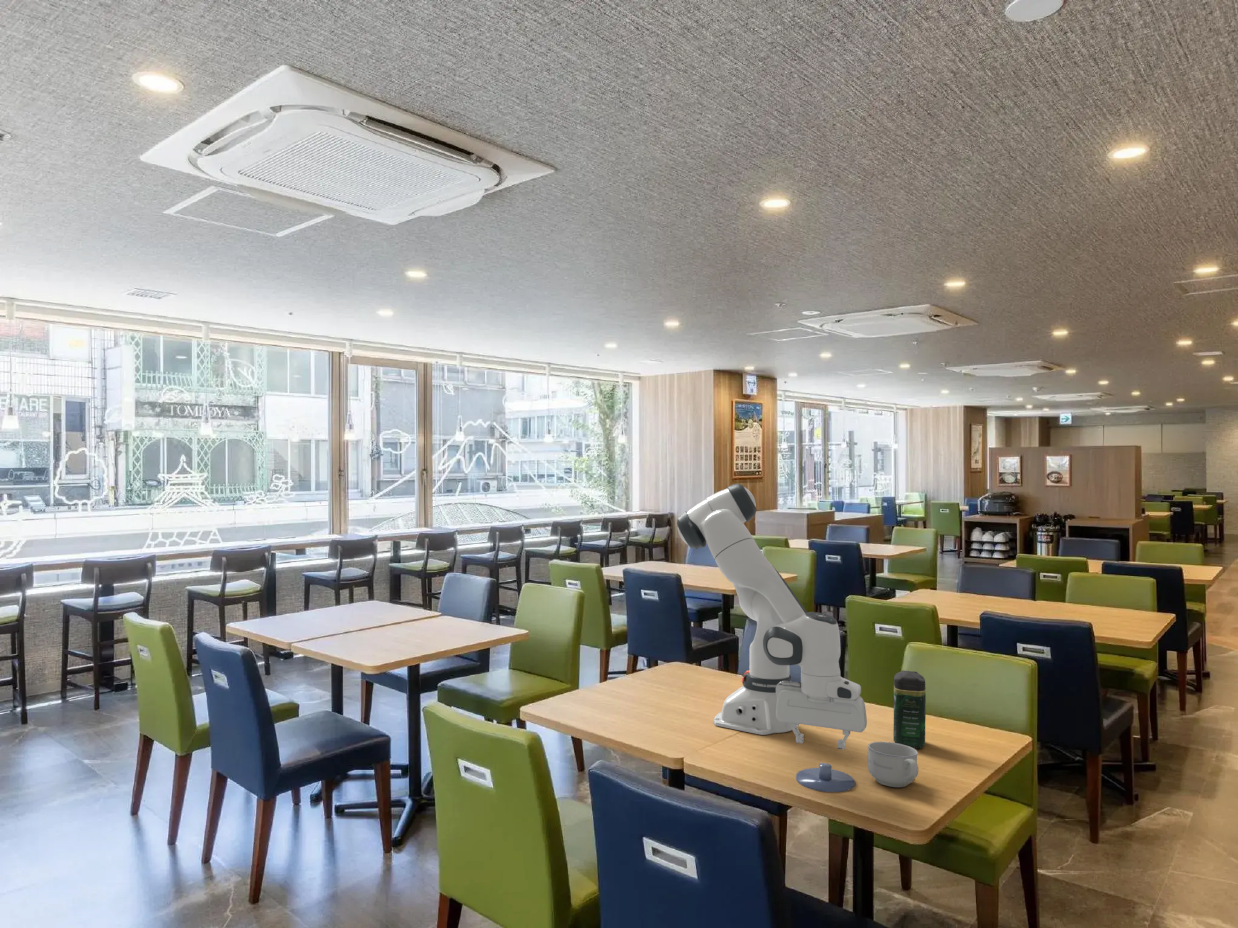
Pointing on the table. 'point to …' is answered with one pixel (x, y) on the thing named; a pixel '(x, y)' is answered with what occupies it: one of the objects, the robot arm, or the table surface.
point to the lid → (825, 779)
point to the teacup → (892, 763)
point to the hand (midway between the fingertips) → (820, 745)
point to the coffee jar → (909, 709)
